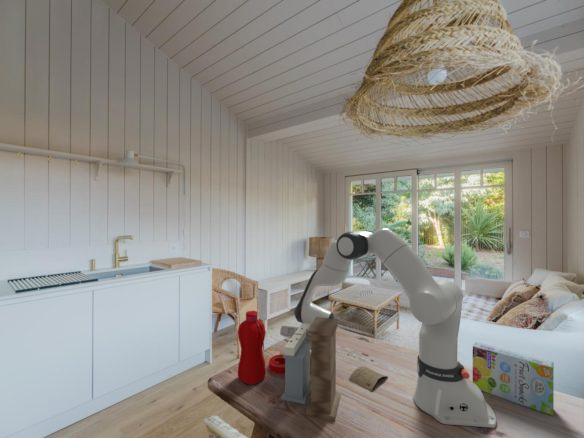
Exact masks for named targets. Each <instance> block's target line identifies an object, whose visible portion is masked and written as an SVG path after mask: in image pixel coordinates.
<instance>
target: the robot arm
mask: <svg viewBox="0 0 584 438" xmlns="http://www.w3.org/2000/svg"><path fill="white" fill-rule="evenodd" d="M373 256H376V257H377V259H379V260H380V262H381V263H382V264H383V265H384V266H385V268H386V269H387V270H388V271H389V273H391V275H392V276H393V277H394V278H395V279H396V281H397V282H398V284H399V285H400V288H401V289H402V291H403V293H404V294H405V296H406V297H407V301H408V303H409V309H410V313H411V314H412V316H413V317H414V319H416V320H417V321H418V322H420V323H421V326H420V329H419V331H418V345H419V346H418V355H417V360H416V372H417V380H416V386H415V387H416V388H415V390H414V391H415V392H414V394H413V401H414V403H415V405H416V406H417V407H418V408H419V409H420V410H422V411H423V412H424V413H427V414H428V415H430V416H431V417H433V418H434V419H435V420H436V421H438V422H439V423H441V424H444V425H453V426H467V427H477V428H478V427H479V428H480V427H481V428H494V429H495V428H496V426H497V417H496V414H495V412H494V410H493V408H492V407H491V406H490V405H489V403H488V402H487V401H486V399H485V395H484V394H483V391H481V390H480V389H479V388H478V386H477V385H476V384H474V383H473V380H472V379H471V380H470V377H471V375H470V373H469V371H468V370H467V369H465V366H464V365H463V364H462V363H461V362H460V360H458V340H459V339H458V338H459V331H460V326H461V317H462V310H463V309H462V307H463V301H464V294H463V291H462V288H460V286H458V285H457V284H456V283H455V282H452V281H449V280H444V279H443V280H442V279H441V280H435V278H434V277H433V276H432V274H431V273H430V271H429V269H428V268H427V264H426V262H425V261H424V260H423V259H422V257H420V255H419V254H418V253H417V252H416V251H415V250H414V249H413V248H412V247H411V246H410V245H409V244H408V242H406V241H405V240H404V239H403V238H402V237H400V235H398V234H397V233H395V232H394V231H393V230H392V229H390V228H387V227H382V228H379V229H377V230H376V231H372V230H354V231H347V232H344V233H342V234H341V235H340V236H339V237H337V239H335V240H333V241H331V242H330V243H329V246H328V248H327V250H326V254H325V255H324V258H323V262H322V266H321V267H320V268H318V269H316V270H314V272H313V273H312V274H311V276H310V277H309V279H308V282H307V283H306V286H305V289H304V291H303V293H302V295H301V297H300V299H299V301H298V303H297V304H296V307H295V309H294V313H293V314H294V317H295V320H296V321H297V322H298V323H300V324H302V323H307V324H310V325H311V324H312V322H313V321H314V319H315V318H316V317H321V318H330V319H336V318H335V314H334V312H333V311H331V310H329V309H326V308H324V307H321V306H319V305H318V304H315V303H313V301H312V300H313V298H314V295H315V293H316V290H317V288H318V287H335V286H336V287H337V286H340V285H342V284H343V283H344V282H345V281H346V278H347V277H348V274H349V270H350V266H351V263H352V261H353V260H360V259H361V260H364V259H368V258H370V257H373ZM299 327H300V326H291V325H281V327H280V331H279V332H280V333H279V334H280V336H282V337H284V338H289V339H291V338H292V336H293V335H294V333H295V332H296V331H297V329H298V328H299ZM307 330H308V329H306V337H305V338H304V340H303V341H307V342H311V334H307ZM310 351H311V348H310Z"/></svg>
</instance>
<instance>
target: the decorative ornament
mask: <svg viewBox="0 0 584 438" xmlns="http://www.w3.org/2000/svg"><path fill="white" fill-rule="evenodd" d="M268 370H269V371H270V372H272V373H273V374H276V375H277V374H281V375H283V374H285V358H283V354H275V355H273V356H271V357H270V358H269V359H268Z"/></svg>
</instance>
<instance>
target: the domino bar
mask: <svg viewBox="0 0 584 438" xmlns="http://www.w3.org/2000/svg"><path fill="white" fill-rule="evenodd" d="M298 327H299V328H298V329H297V331H296V332H295V333H294V335H293V336H292V338H289V340H288V342H287V343H286V344H285V346H284V353H285V355H290V356H294V355H295V353H296V351H297V350H298V348H299V347H300V345H301V343H302V342H303V340H304V338H305V337H306V329H309V327H310V324H307V323H300V325H299V326H298Z"/></svg>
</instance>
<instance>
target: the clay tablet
mask: <svg viewBox="0 0 584 438" xmlns="http://www.w3.org/2000/svg"><path fill="white" fill-rule="evenodd" d="M383 377H385V378H388V376H386V375H384V374H382V373H380V372H377V371H375V370H373V369H371V368H369V367H367V366H363V365H361V366H358V367H357V368H356V369H354V370H353V372H352V373H351V374H350V376H349V379H348V381H349V382H350V383H352V384H354V385H357V386H358V387H361V388H362V389H365V390H367V391H368V392H370V393H371V392H372V391H373V388H374V387H375V386H376V384H377V383H378V380H379V379H381V378H383Z"/></svg>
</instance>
